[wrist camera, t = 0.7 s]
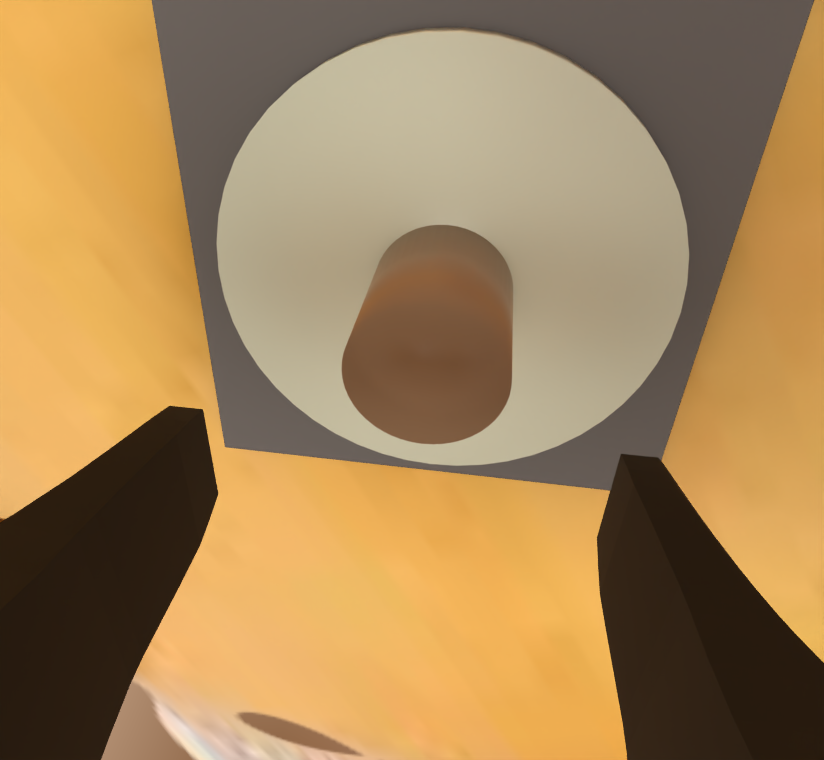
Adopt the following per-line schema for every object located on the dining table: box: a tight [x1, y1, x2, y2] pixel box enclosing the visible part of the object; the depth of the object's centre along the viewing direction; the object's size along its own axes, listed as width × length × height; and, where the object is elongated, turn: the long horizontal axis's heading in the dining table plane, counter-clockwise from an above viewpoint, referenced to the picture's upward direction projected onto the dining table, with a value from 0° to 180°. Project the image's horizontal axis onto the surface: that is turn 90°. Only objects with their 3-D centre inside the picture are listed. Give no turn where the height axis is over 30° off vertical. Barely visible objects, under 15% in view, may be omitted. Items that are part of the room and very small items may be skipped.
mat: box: [152, 0, 814, 490], centre depth 18 cm, size 14×14×1 cm
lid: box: [217, 27, 689, 466], centre depth 16 cm, size 12×12×5 cm
